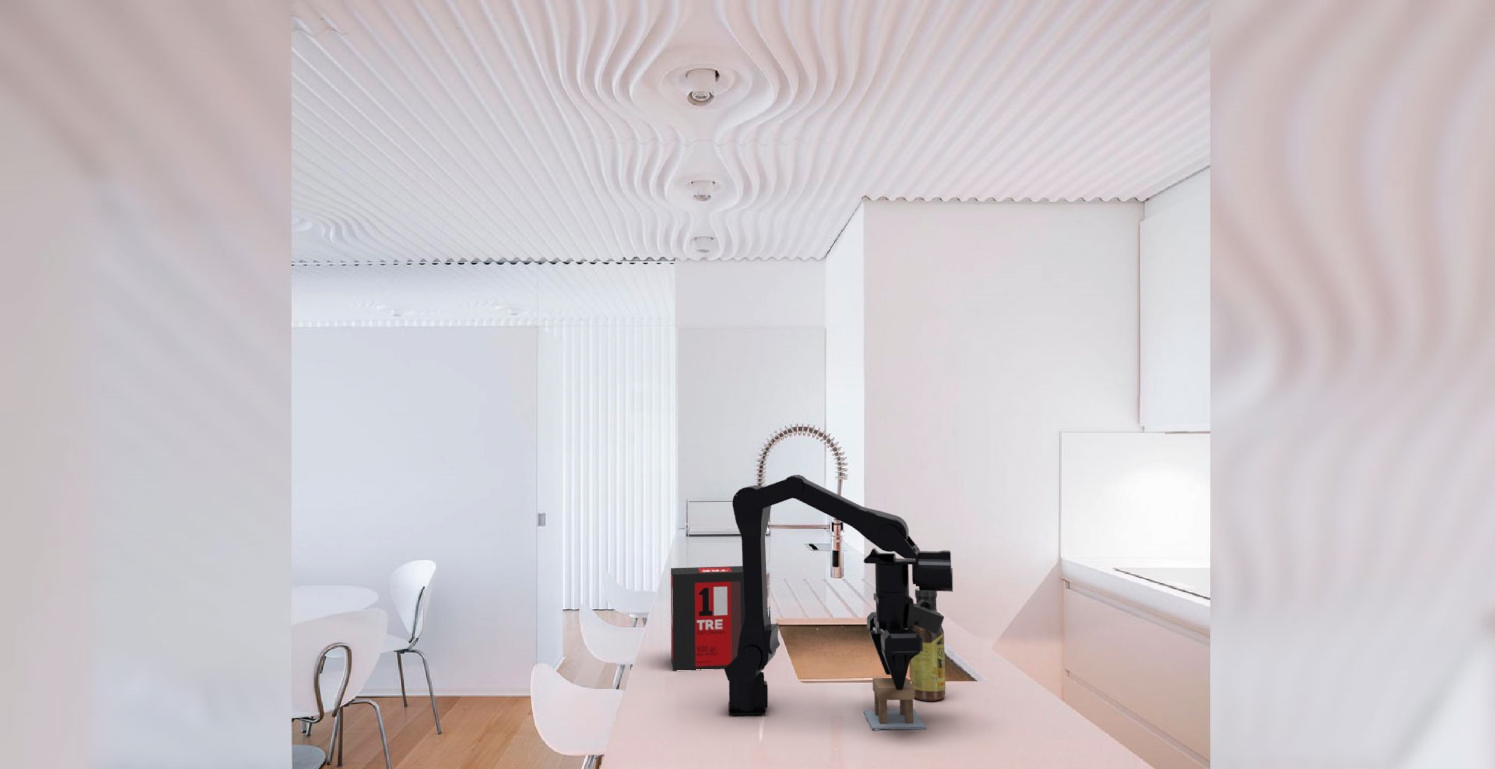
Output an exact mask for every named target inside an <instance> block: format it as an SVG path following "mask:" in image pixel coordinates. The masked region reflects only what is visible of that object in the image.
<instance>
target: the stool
mask: <svg viewBox="0 0 1495 769" xmlns="http://www.w3.org/2000/svg"><path fill="white" fill-rule="evenodd" d="M872 690H873V692H874V693H873V695H874V696H873V697H874V699H873V700H874V702H873V704H874V710H875V715H876V716H879V723H880V724H887V710H888V701H899V710H900V714H901V715H905V722H906V724H913V710H914V700H915V697H914V687H913V685H912V684H911V681H910V680H909V679H908V677H906V679H905V683H904V687H903V690H896V688H895V685H894V682H893V680H892V677H872Z"/></svg>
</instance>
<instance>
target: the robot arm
mask: <svg viewBox="0 0 1495 769" xmlns="http://www.w3.org/2000/svg"><path fill="white" fill-rule="evenodd" d="M791 499H795V500H797V501H799V502H802V503H803V504H804V505H805V504H806V505H807V506H809V507H811V508H813V509H816V510H817V511H819V512H822V513H823V514H825V515H827V516H829V517H832V518H834V519H835V520H837V521H839V522H842V523H843V524H845V525H847V526H850V527H851V528H853V529H854V530H856V531H857V532H858V533H859V534H861V535H862V537H863V538H865V539H867V540H868V541H869V542H871V544H872V545H874V546H875V547H877V548H879V549H880V550H882V551H884V552H879V551H878V550H877V549H876V548H875V547H874V548H872V549H871V551H870V552H869V554H868V555H867V556H866V557H864V559H863V563H864V564H873V565H874V572H875V573H874V575H875V578H874V579H875V582H874V583H875V592H874V593H873V600H874V602H875V611H871V612H870V613H869V615H867V616H866V628H867V630H868V634H869V636H870V638H871V641H872V643H873V646H874V648H875V650H876V654H877V655H878V658H879V661H880V662H881V666H882V669H883V671H884V673H885V675H886V676H890V678H892V680H893V682H894V685H895V688H896V690H903V687H904V683H905V679H906V678H907V673H908V670H909V666H910V664H911V659H912V658H913V657H914V656H916V655H918V654H919V653H920V651H923V642H922V638H921V637H920V636H919V635H918V634H917V633H916V632H915V631H914V630H913V629H915V625H916V626H918V627H921V628H924V629H927V630H930V631H931V632H932V633H934V634H939V631H940V628H941V625H942V626H943V622H944V619H945V616H944V615H942V614H941V613H940V612H938V610H937V611H935V610H932V606H931V603H930V602H928V601H925V600H922V599H921V600H920V601H919V602H918V603H917V604H916V602H915V603H914V601H915V600H914V599H913V597H912V596H911V595H910V580H909V579H910V575H909V574H910V572H909V565H911V582H912V585H915V587H918V588H919V590H920V591H937V592H949V593H950V592H952V593H953V592H954V586H953V585H954V583H953V582H954V581H953V578H954V576H953V575H954V574H953V573H954V572H953V570H954V569H953V567H952V552H951V551H950V550H945V549H944V550H940V551H938V550H937V551H934V550H933V551H932V550H930V551H929V550H920V548H919V547H918V544H916V542H914V540H913V539H912V538H911V536H910V535H909V526H908V524H907V522H906V520H905V519H903V518H902V517H900V516H898V515H896V514H891V513H889V512H886V511H885V512H884V511H882V510H878V509H874V508H873V509H872V508H868V507H865V506H862V505H860V504H858V503H856V502H854V501H852V500H849V499H848V498H845V497H843V496H841V495H839V494H837V493H835V492H833V491H831V490H829V489H828V488H825V487H823V486H821V485H819V484H817V483H815V482H813V481H810V480H809V479H807V478H806V477H805V476H803V475H800V474H793V475H790V476H788V477H786V478H785V479H782V480H780V481H776V482H774V483H771V484H768V485H766V486H762V485H758V484H754V485H748V486H746V487H742V488H740V489H738V490H737V492H736V493H735V494H733V497H732V504H731V505H732V510H733V514H734V519H735V524H736V525H737V526H736V527H737V529H738V532H739V534H740V539H741V558H742V559H741V560H742V564H741V566H742V567H743V600H744V619H743V623H742V627H741V631H740V635H739V642H738V649H737V657H736V658H735V659H734V660H733V661H732V662H731V663H730V664H729V665H728V666H727V667H726V668H725V669H723V670H724V673H725V676H726V679H727V680H728V716H761V715H762V716H763V715H766V709H768V708H769V705H768V704H769V702H768V700H769V690H768V688H769V687H768V681H767V680H765V673H764V672H763V671H764V670H765V667H766V666H767V665H768V664H769V663H770V661H771V660H772V659H774V657H775V656H776V653H777V649H778V648H779V647H780V645H781V643H780V640H779V636H778V635H779V628H780V627H779V626H780V625H779V623H777V622H776V623H772V622H771V619H770V616H769V613H768V584H767V580H768V579H767V557H766V556H767V554H766V552H767V551H766V534H767V529H768V527H769V526H768V525H769V522H770V517H771V511H772V510H771V509H772V506H774V505H777V504H779V503H783V502H785V501H788V500H791ZM887 552H888V553H887ZM896 554H897V555H899V556H900V557H902V558H897V556H896Z"/></svg>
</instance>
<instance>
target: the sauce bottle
mask: <svg viewBox="0 0 1495 769" xmlns="http://www.w3.org/2000/svg"><path fill="white" fill-rule="evenodd" d="M937 597H938V591H920V590H919V587H918V588H915V589H914V598H915V604H917V603H918V602H919V601H920V600H921V599H922V600H925V601H928V602H930V603H931V606H932V610H935V611H937V612H938V609H937ZM913 630H914V631H915V632H916V633H917V634H918V635H919V636H920V637H921V638H922V642H923V651H920V653H919V654H918V655H916V656H914V657H913V658H912V659H911V660H910V674H911V675H910V676H911V677H910V680H911V681H910V682H911V684H912V685H913V687H914V699H916V700H921V701H927V702H928V701H930V702H931V701H932V702H935V701H940V700H943V699H944V698H945V695H946V658H945V656H946V655H945V654H946V653H945V652H946V651H945V650H946V648H945V631H944V629H943V624H942V625H941V628H940V631H939V634H934V633H932V632H931V631H930V630H927V629H924V628H921V627H918V626H916V625H915V629H913Z"/></svg>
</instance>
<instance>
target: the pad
mask: <svg viewBox="0 0 1495 769" xmlns="http://www.w3.org/2000/svg"><path fill="white" fill-rule="evenodd" d="M863 714H864V716H866V717H865V719H866V718H867V719H866V721H867V720H868V721H867V722H869V723H868V724H870V725H869V727H870V726H871V727H870V729H871V728H872V729H911V730H927V726H926V725H925V723H924V722H923V720H922V718H921V717H920V715H919V714H918V713H917V711H916V710H915V709H913V724H906V722H905V715H901V714H900V709H887V724H880V723H879V716H876V715H875V709H874V710H871V709H870V710H869V709H868V710H863ZM872 729H871V730H872Z"/></svg>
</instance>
